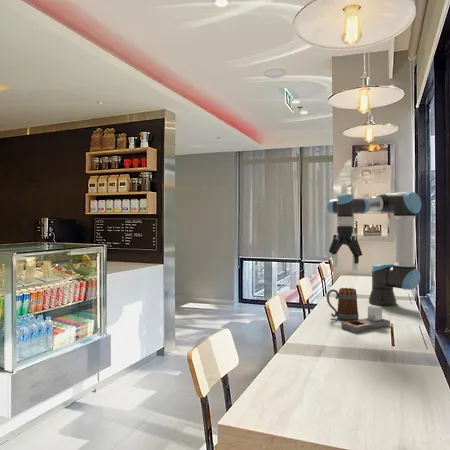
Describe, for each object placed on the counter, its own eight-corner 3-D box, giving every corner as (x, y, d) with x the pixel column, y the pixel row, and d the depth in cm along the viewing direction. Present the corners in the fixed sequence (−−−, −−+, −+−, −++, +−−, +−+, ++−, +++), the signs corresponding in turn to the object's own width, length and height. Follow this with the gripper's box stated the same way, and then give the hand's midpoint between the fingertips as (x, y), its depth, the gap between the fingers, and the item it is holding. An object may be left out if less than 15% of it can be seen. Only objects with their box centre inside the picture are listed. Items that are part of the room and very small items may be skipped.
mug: (355, 316, 208) (355, 287, 207) (360, 321, 197) (360, 291, 197) (325, 315, 209) (325, 287, 209) (328, 321, 199) (328, 291, 198)
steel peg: (374, 323, 194) (374, 305, 194) (382, 325, 190) (382, 306, 190) (367, 324, 192) (367, 306, 191) (375, 327, 188) (375, 308, 187)
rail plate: (374, 321, 197) (374, 316, 197) (390, 326, 189) (390, 320, 189) (341, 328, 187) (341, 322, 187) (356, 333, 179) (356, 327, 179)
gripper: (322, 225, 207) (322, 266, 208) (358, 226, 185) (358, 272, 185) (333, 224, 210) (333, 265, 211) (370, 226, 188) (369, 271, 189)
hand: (344, 268), depth 198 cm, fingers open, 13 cm apart
